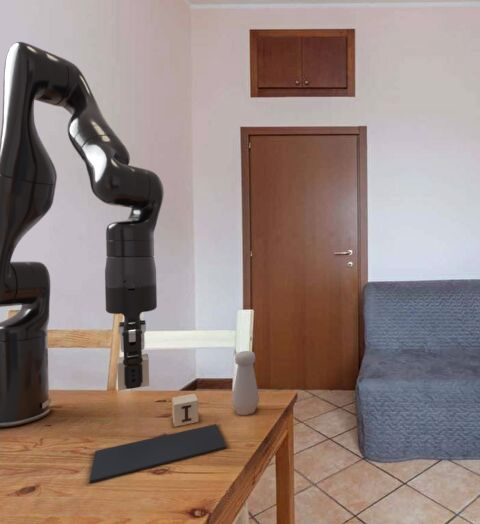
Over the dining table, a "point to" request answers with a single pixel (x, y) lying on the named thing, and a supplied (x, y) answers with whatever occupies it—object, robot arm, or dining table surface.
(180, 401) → the beige cube block
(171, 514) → the dining table surface
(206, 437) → the word mat
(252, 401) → the salt shaker
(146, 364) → the beige rounded cube
